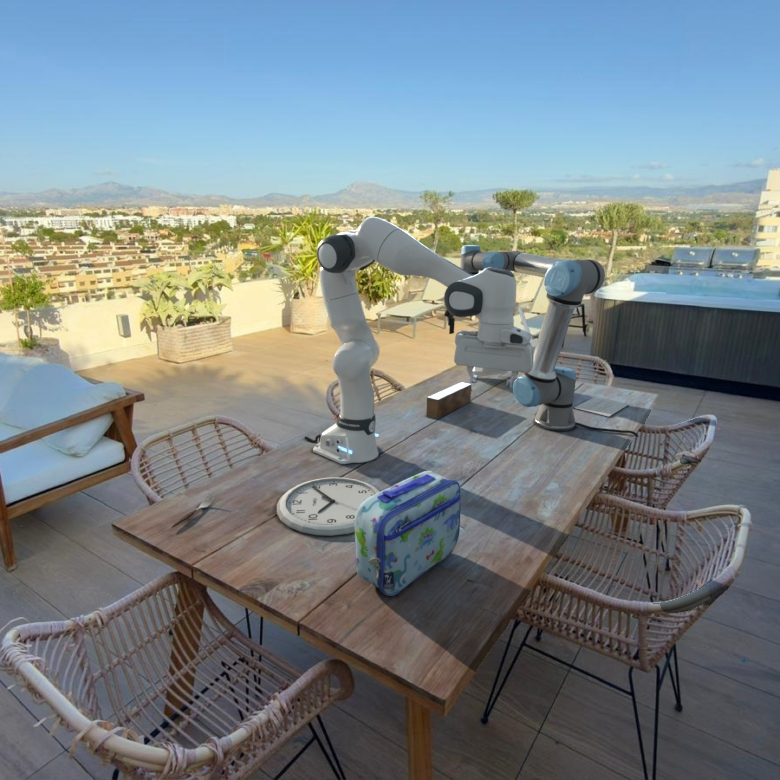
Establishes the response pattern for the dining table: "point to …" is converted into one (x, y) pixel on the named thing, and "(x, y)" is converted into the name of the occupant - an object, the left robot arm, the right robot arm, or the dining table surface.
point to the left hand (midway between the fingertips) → (491, 384)
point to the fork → (203, 505)
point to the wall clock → (324, 505)
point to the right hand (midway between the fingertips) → (465, 335)
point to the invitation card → (601, 406)
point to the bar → (448, 400)
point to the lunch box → (406, 530)
